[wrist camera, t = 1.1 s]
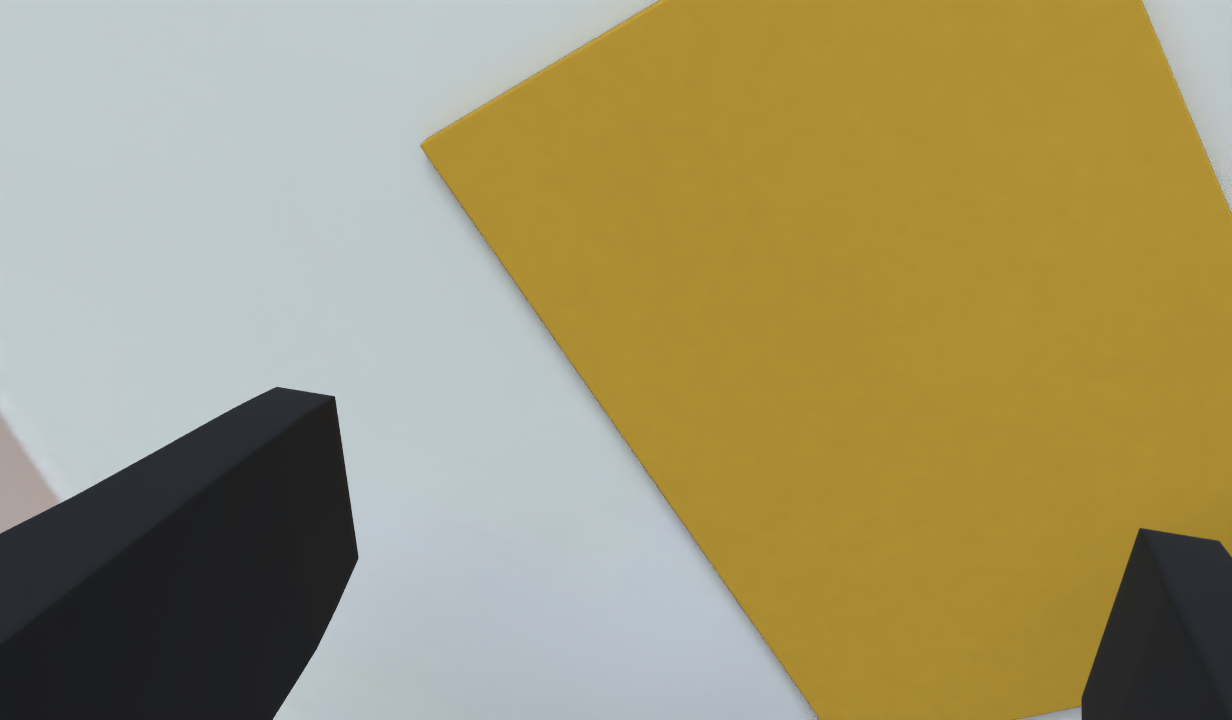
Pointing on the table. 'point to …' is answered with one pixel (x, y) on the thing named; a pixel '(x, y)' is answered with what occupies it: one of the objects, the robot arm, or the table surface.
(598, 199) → the mustard cloth
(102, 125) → the table surface
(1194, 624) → the robot arm
